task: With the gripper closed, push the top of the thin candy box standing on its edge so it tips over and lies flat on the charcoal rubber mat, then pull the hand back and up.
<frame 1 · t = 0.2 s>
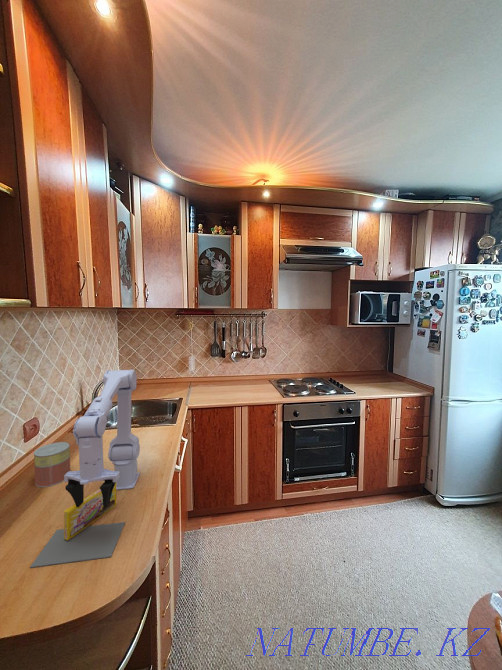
hand: (93, 504, 75), 10 cm above the counter, tool pointing down, fingers open, 7 cm apart
canned food: (53, 478, 104), on the counter
mat: (82, 543, 74), on the counter
candy box: (92, 521, 82), on the counter, touching mat
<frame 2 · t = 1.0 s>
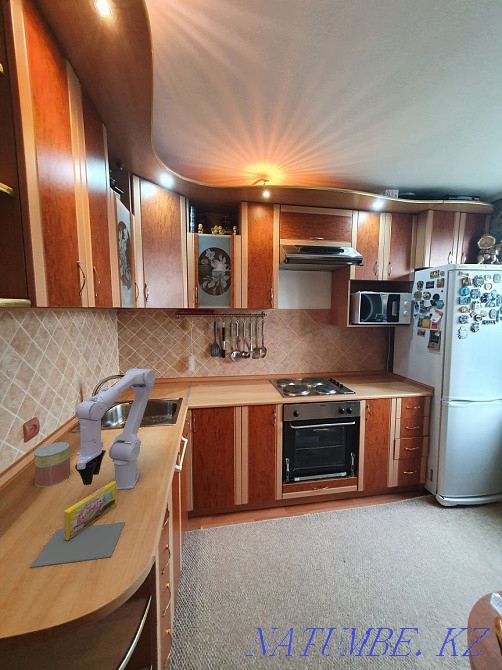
hand: (91, 479, 86), 10 cm above the counter, tool pointing down, fingers open, 5 cm apart
nothing on the counter moved.
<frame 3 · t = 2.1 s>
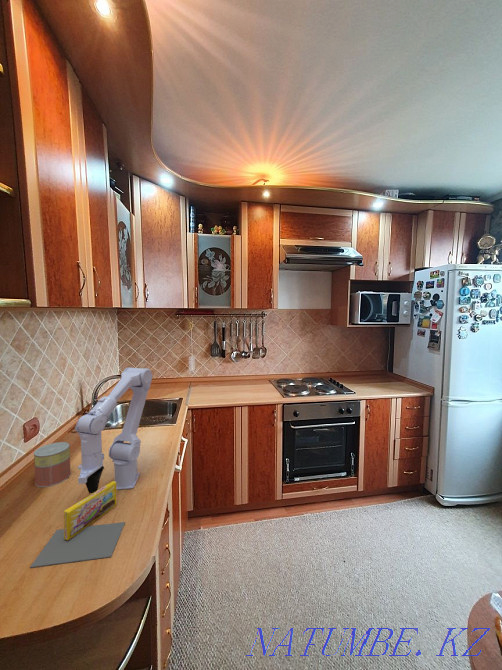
hand: (93, 491, 87), 6 cm above the counter, tool pointing down, fingers closed
nothing on the counter moved.
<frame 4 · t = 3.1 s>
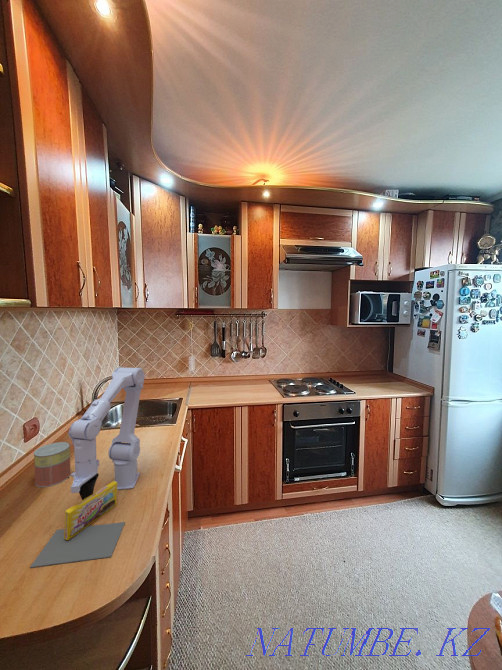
hand: (87, 500, 83), 6 cm above the counter, tool pointing down, fingers closed
nothing on the counter moved.
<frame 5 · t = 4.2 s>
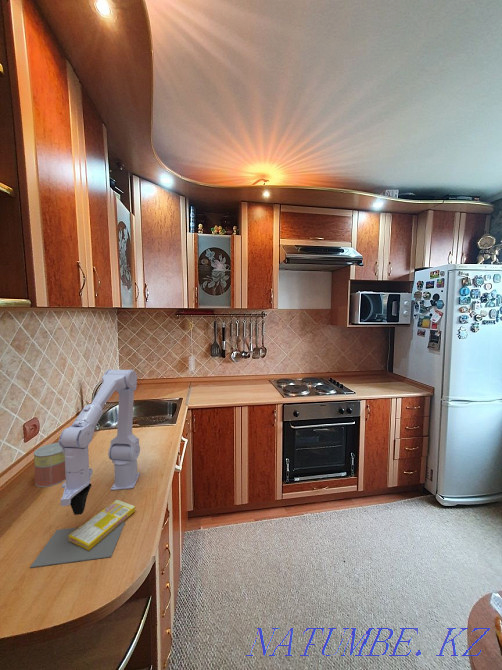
hand: (79, 512, 77), 6 cm above the counter, tool pointing down, fingers closed
candy box: (94, 518, 81), point 1 cm above the counter, touching mat
everything else where it was.
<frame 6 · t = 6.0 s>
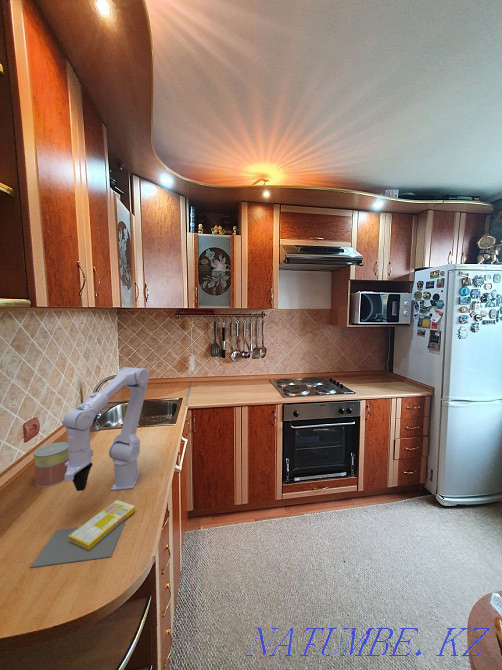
hand: (81, 489, 84), 9 cm above the counter, tool pointing down, fingers closed
nothing on the counter moved.
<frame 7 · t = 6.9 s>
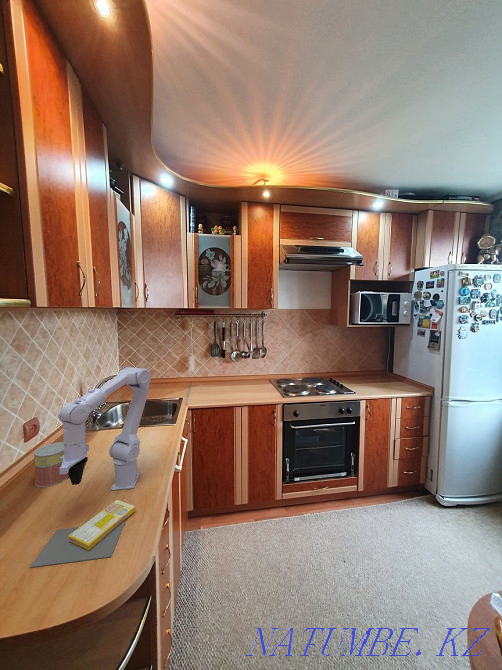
hand: (76, 483, 84), 10 cm above the counter, tool pointing down, fingers closed
nothing on the counter moved.
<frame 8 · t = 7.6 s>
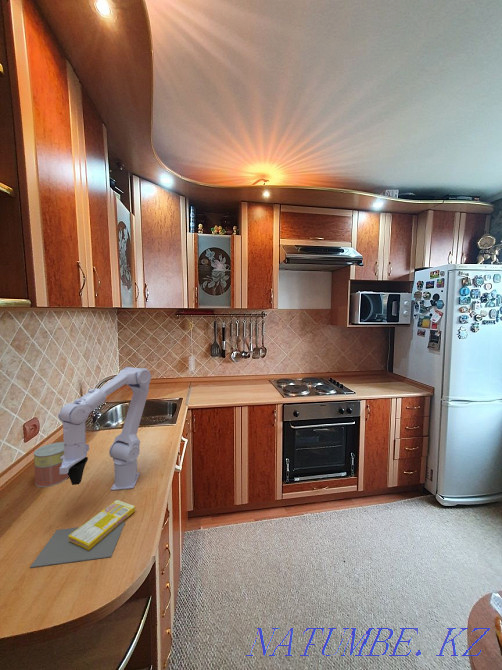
hand: (76, 483, 84), 10 cm above the counter, tool pointing down, fingers closed
nothing on the counter moved.
at the end: candy box tilted 89°; candy box inside the target area (2.8 cm from its centre), point 1.2 cm above the counter; candy box touching mat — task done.
